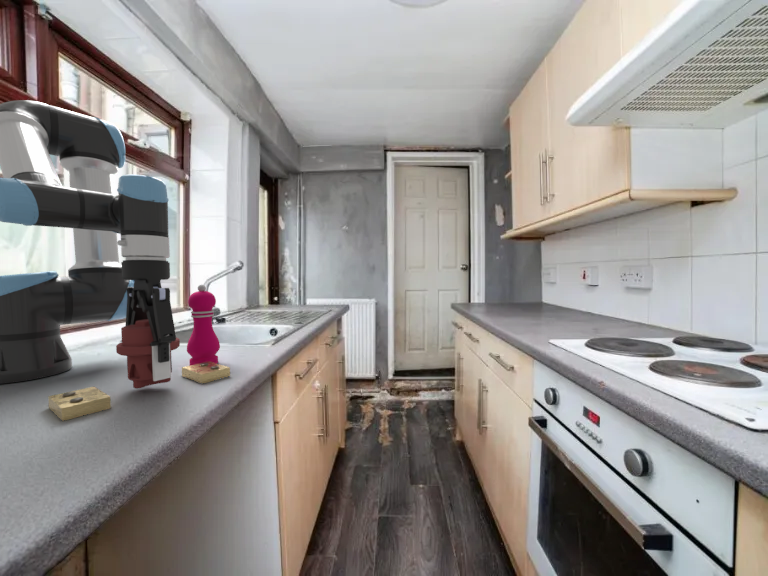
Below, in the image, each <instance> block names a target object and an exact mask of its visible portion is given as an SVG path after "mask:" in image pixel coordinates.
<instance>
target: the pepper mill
mask: <svg viewBox="0 0 768 576" xmlns="http://www.w3.org/2000/svg"><path fill="white" fill-rule="evenodd" d="M206 288H207V287H206V286H205V285H204V284H199V285H198V286H197V290H198V291H195V292H192V293H191V294H190V295H189V297H188V300H187V303H188V307H190V309H191V310H192V311H190V314H191V316H190V317H191V318H192V319H193V320H192V321H193V328H192V332H191V335H190V337H189V339H188V341H187V345H186V352H187V354H188V355H190V357H191V358H190V359H189V360H188V361H189V366H190V365H195V364H199V363H204V362H213V363H216V364H217V363H218V364H219V357H218V355H217V353H219V351H220V347H221V345H220V341H219V338H218V335H216V332H215V331H214V328H213V322H212V321H213V317H214V315H215V313H214V312H215V310H213V308H214V307H215V306H216V304H217V300H216V297H215V295H214V294H213V293H212V292H211V291H207V289H206Z"/></svg>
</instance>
